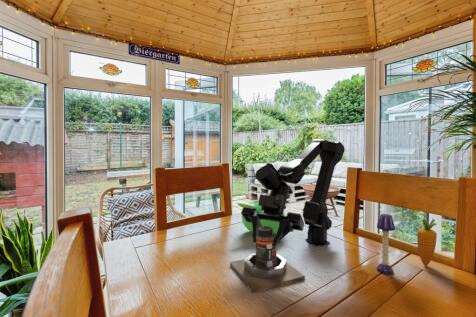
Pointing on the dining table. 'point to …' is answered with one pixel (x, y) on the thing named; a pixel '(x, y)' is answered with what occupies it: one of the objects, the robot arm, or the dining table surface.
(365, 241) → the dining table surface
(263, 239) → the supplement bottle
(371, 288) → the dining table surface
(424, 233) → the carrot
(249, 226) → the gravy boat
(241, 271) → the stand
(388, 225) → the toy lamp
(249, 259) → the ring
